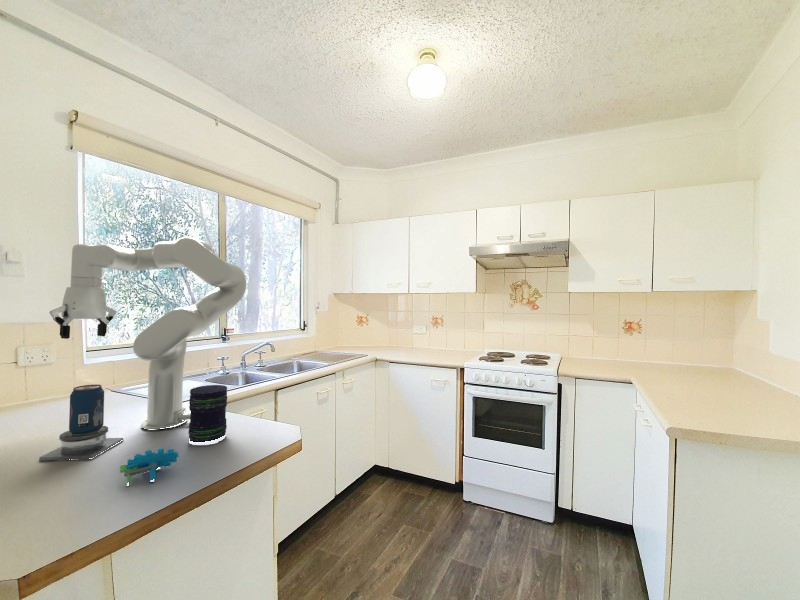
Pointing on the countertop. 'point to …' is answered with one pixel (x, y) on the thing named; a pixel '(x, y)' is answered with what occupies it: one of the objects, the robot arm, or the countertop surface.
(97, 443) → the puck on square plate
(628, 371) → the countertop surface
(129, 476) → the blue toy dinosaur
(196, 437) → the storage jar
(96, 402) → the soda can
